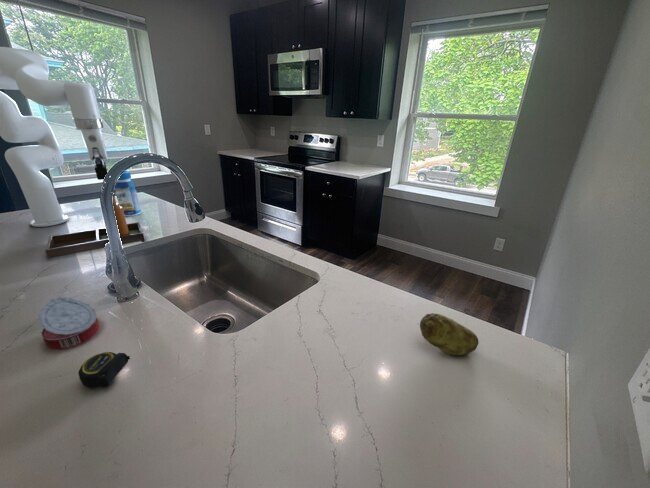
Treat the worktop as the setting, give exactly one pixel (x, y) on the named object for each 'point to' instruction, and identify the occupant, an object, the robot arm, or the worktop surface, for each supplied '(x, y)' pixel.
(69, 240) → the tray
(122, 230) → the bottle
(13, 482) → the worktop surface
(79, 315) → the canned food
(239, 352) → the worktop surface
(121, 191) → the beverage bottle
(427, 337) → the potato
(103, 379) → the tape measure
